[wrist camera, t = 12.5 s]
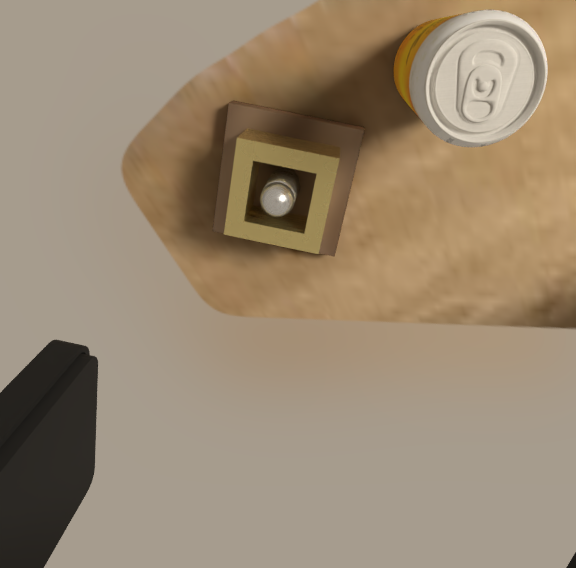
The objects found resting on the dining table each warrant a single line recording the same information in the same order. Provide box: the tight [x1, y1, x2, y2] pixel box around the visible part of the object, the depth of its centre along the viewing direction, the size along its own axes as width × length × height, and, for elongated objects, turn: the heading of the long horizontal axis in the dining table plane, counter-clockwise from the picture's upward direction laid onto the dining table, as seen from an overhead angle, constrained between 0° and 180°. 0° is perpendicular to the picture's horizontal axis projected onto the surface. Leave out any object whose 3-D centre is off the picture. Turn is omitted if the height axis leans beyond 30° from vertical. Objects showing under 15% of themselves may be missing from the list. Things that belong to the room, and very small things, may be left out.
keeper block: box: [213, 101, 364, 256], centre depth 39 cm, size 10×10×7 cm
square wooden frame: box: [224, 128, 341, 254], centre depth 39 cm, size 7×7×4 cm
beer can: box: [394, 10, 547, 147], centre depth 31 cm, size 6×6×15 cm
